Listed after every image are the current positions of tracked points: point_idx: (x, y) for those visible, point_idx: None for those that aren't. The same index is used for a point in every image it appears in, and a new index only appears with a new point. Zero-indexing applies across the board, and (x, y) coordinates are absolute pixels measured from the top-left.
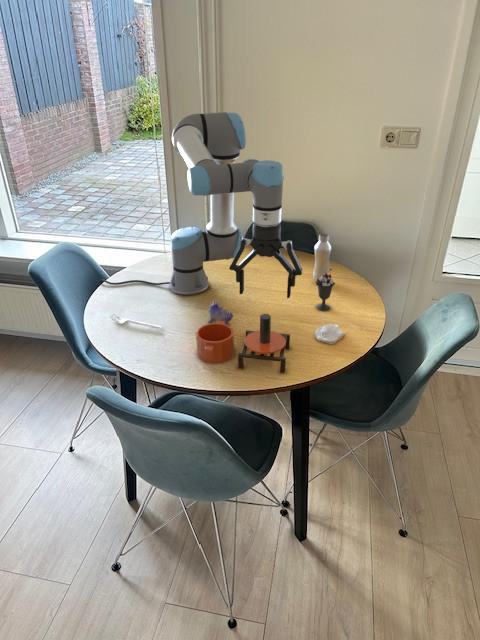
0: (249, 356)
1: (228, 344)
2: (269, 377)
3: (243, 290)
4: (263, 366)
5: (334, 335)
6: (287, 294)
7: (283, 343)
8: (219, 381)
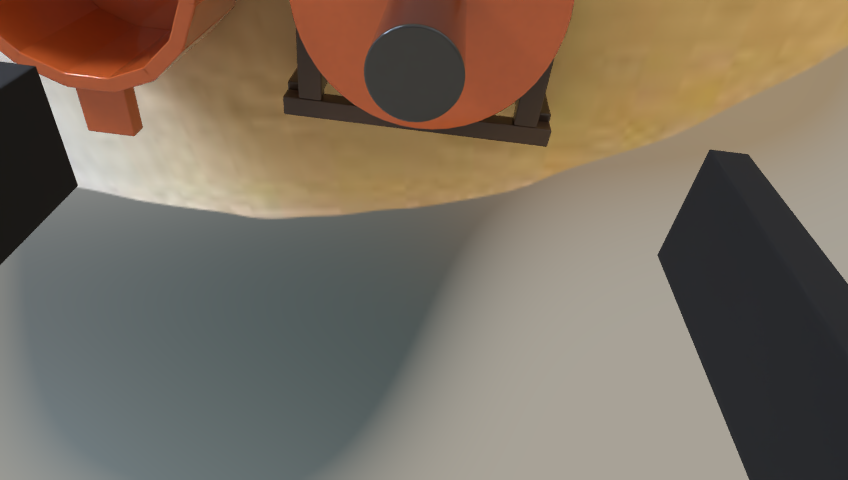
0: (350, 120)
1: (199, 34)
2: (462, 137)
3: (43, 108)
4: None
5: None
6: (676, 289)
7: (555, 28)
8: (249, 169)
